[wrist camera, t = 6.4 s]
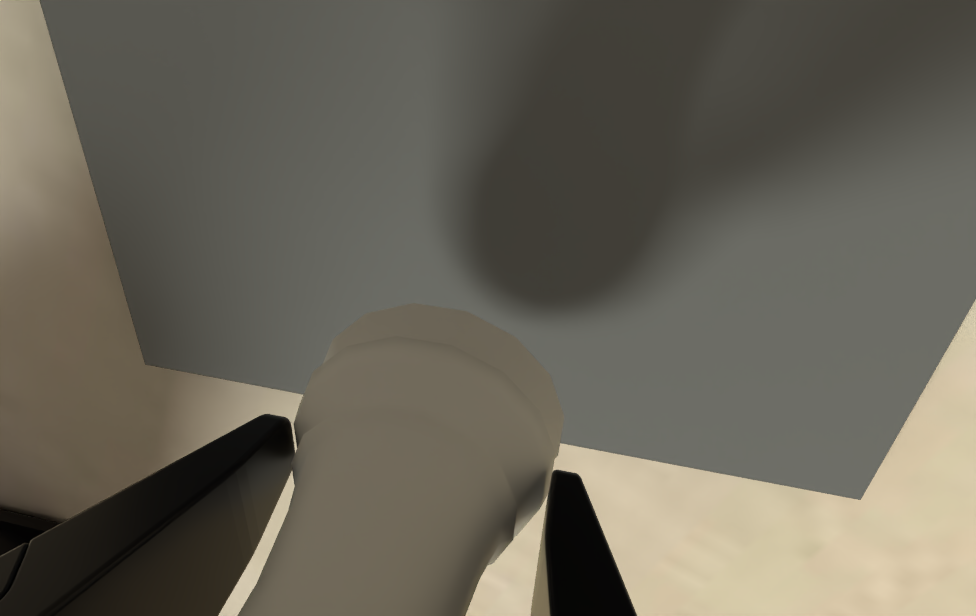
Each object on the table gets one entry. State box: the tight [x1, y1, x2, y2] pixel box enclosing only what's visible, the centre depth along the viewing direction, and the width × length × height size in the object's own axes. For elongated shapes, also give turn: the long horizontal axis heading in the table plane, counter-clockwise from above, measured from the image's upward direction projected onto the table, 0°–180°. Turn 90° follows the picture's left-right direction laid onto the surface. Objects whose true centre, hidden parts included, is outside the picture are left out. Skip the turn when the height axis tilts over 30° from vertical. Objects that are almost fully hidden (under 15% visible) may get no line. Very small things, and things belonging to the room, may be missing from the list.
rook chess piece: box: [238, 303, 564, 616], centre depth 7 cm, size 4×4×8 cm
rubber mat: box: [40, 0, 976, 500], centre depth 11 cm, size 18×14×1 cm
